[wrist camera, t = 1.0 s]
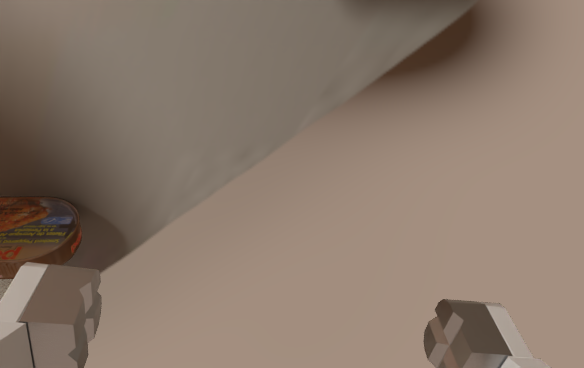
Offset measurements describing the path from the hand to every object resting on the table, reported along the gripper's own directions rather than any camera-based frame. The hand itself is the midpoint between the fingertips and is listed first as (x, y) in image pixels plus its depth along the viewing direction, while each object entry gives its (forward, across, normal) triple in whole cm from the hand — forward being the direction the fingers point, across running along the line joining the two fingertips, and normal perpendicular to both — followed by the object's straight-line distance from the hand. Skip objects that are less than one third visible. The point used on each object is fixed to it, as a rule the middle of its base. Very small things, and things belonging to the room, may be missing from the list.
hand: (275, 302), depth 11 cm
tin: (+31, -21, -23) cm, 44 cm away
